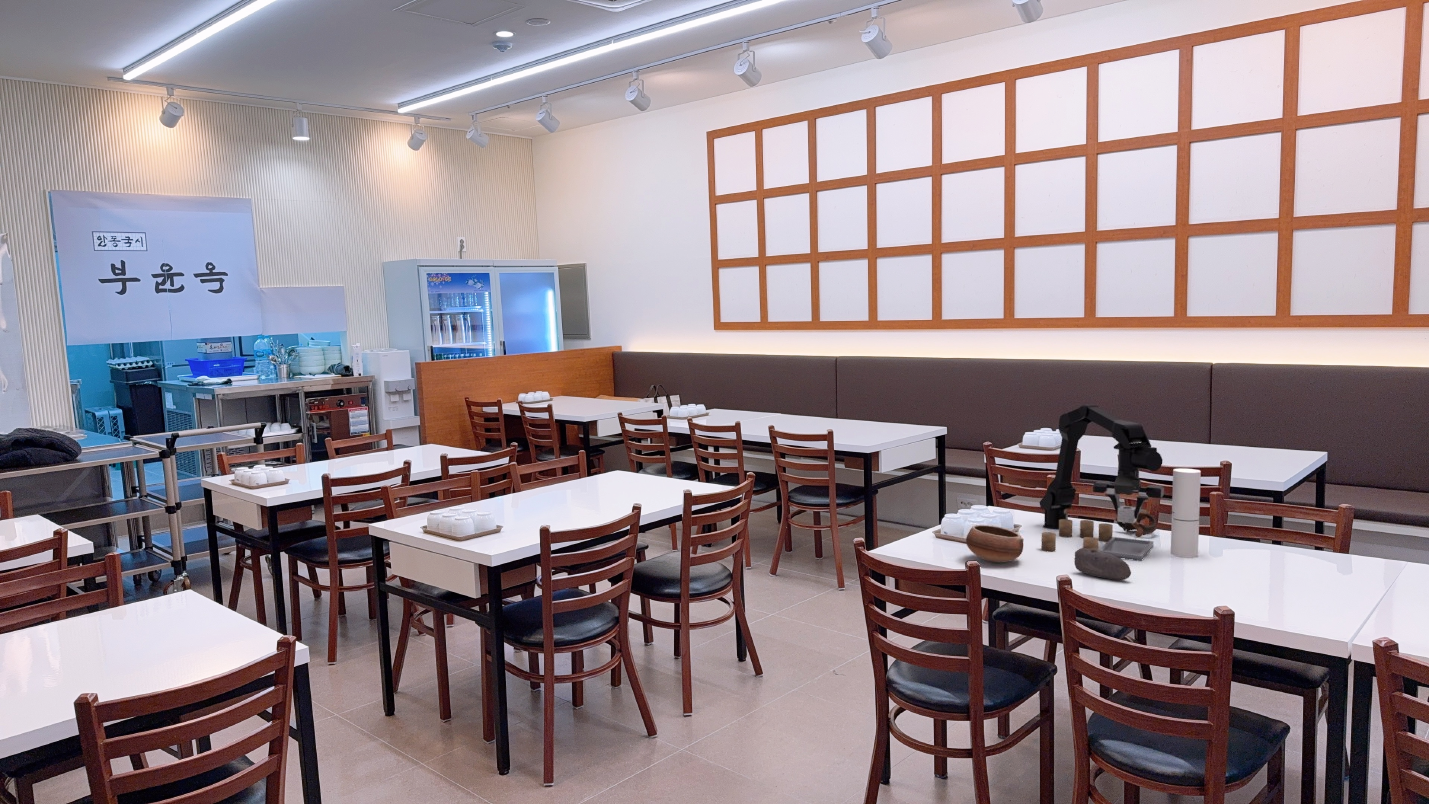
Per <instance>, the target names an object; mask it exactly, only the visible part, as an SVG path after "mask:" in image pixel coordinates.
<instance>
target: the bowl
mask: <svg viewBox="0 0 1429 804" xmlns="http://www.w3.org/2000/svg"><path fill="white" fill-rule="evenodd" d="M965 540H966V541H965V543H966V547H967V548H968V549H969V551H970V552H971V553H973V554H974V555H976V557H979V558H981V559H983V560H985V561H987V562H990V563H996V562H999V563H998V564H1000V562H1002V563H1006V562H1007V563H1008V562H1011V561H1014V560H1016V559H1017V558H1019V557H1020V556H1021V555H1022V553H1023V551H1024V538H1023V537H1022V536H1021V534H1019V533H1018V532H1015V531H1014V530H1011V529H1009V528H1006V527H1005V528H1004V527H1002V526H996V525H995V526H994V525H987V524H976V525H973V526H972V527H971V528H970V529H969V531H968V532H967V535H966V538H965Z"/></svg>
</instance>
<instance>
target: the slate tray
mask: <svg viewBox="0 0 1429 804" xmlns="http://www.w3.org/2000/svg"><path fill="white" fill-rule="evenodd" d="M1154 543H1155V542H1154V541H1152V540H1144V539H1143V540H1142V539H1136V538H1135V539H1134V538H1128V537H1126V538H1125V537H1117V536H1112V538H1111V539H1110V540H1109V541H1108V542H1105V544H1104V545H1103V546H1102V547H1101V548H1100V549H1098V551H1099V552H1104V553H1107V554H1110V555H1113V556H1116V557H1118V558H1120V559H1121V558H1125V559H1124V560H1129V559H1133V560H1132V561H1137V560H1138V561H1139V562H1142V561H1143V560H1144V559H1145V557H1146V556H1147V555H1148V554H1149V553H1150V551H1151V550H1152V549H1153V547H1154ZM1151 548H1152V549H1151ZM1150 549H1151V550H1150ZM1147 553H1148V554H1147ZM1143 558H1144V559H1143ZM1142 559H1143V560H1142Z"/></svg>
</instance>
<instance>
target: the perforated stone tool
mask: <svg viewBox="0 0 1429 804" xmlns="http://www.w3.org/2000/svg"><path fill="white" fill-rule="evenodd" d="M1073 562H1074V566H1075V568H1076V570H1077V571H1079V572H1080V573H1083V574H1086V575H1089V576H1093V577H1098V578H1102V579H1108V580H1113V581H1123V580H1127V579H1129V577H1130V576H1131V575H1132V571H1131V568H1130V566H1129V564H1128V563H1127V562H1126V561H1125V560H1124V559H1121V558H1118V557H1116V556H1113V555H1110V554H1107V553H1104V552H1099V550H1098V551H1096V550H1092V549H1087V548H1083V547H1081V548H1078V549H1077V550H1075V552H1074V561H1073Z"/></svg>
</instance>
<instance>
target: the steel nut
mask: <svg viewBox="0 0 1429 804" xmlns="http://www.w3.org/2000/svg"><path fill="white" fill-rule="evenodd" d="M1135 510H1136V506H1131V505H1129V506H1128V505H1120V507H1119V508H1118V519H1117V521H1116V523H1117V522H1122V523H1124V522H1126V523H1135V522H1136V520H1137V519H1135Z"/></svg>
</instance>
